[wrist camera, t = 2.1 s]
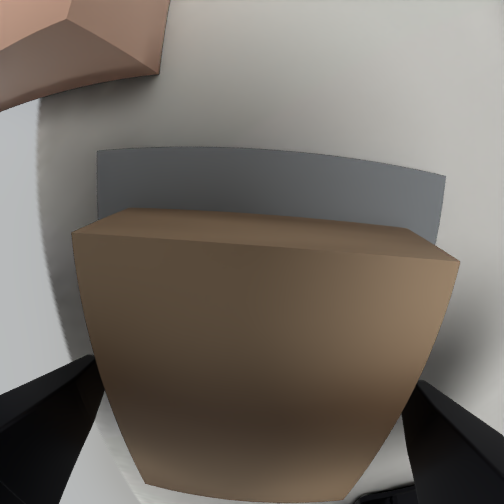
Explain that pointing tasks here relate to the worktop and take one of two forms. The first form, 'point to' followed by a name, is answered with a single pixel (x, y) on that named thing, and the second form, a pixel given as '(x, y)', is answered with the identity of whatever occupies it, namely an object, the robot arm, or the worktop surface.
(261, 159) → the mat
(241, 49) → the worktop surface
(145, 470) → the lid
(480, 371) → the worktop surface
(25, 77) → the pink square box
